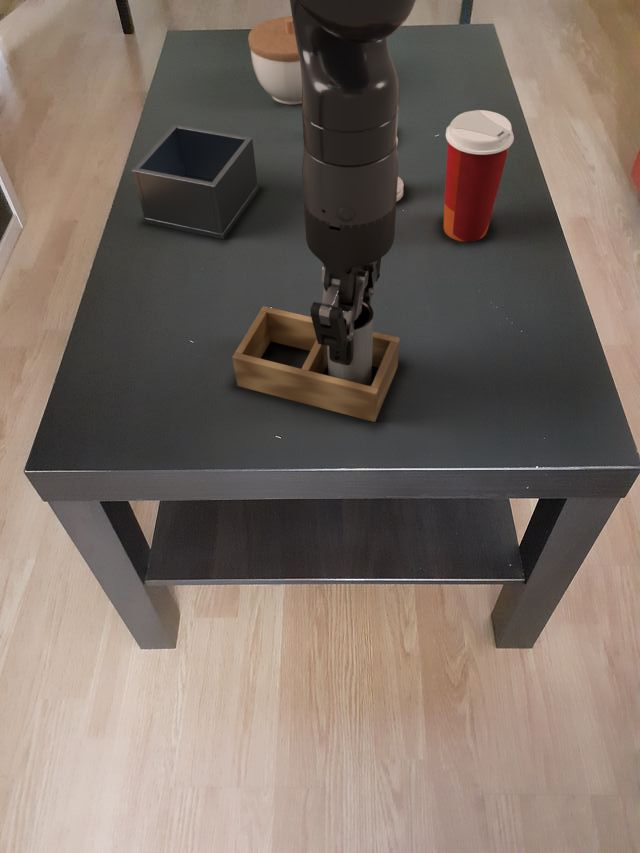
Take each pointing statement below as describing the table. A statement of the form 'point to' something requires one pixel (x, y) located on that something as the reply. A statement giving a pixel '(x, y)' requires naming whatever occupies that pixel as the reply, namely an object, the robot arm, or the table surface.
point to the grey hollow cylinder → (357, 350)
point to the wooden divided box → (311, 367)
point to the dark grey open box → (197, 180)
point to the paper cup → (474, 171)
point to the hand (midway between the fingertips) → (349, 342)
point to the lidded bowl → (277, 59)
